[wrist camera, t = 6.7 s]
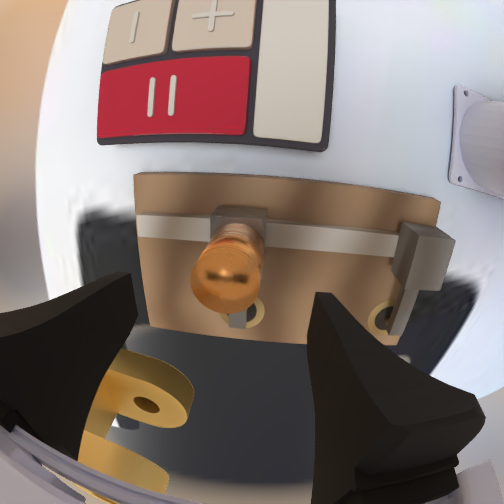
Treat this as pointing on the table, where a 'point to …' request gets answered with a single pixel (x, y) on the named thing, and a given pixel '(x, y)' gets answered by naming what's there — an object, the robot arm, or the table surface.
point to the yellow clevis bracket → (133, 417)
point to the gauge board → (291, 251)
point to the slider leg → (231, 262)
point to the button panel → (219, 73)
